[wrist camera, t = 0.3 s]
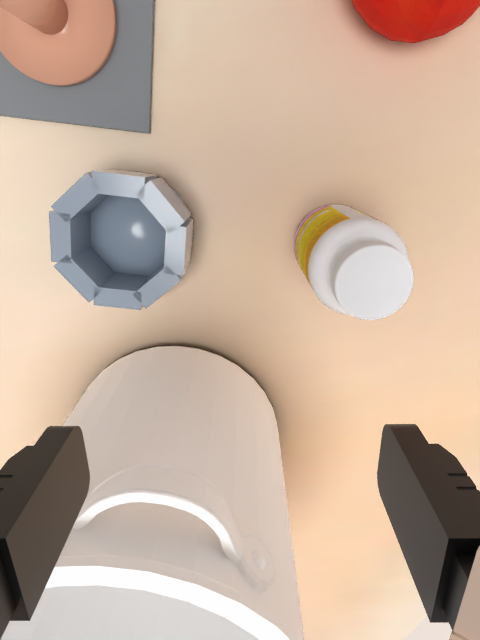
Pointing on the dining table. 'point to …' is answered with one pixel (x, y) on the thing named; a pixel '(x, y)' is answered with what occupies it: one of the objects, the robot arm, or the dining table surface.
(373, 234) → the supplement bottle
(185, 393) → the bucket
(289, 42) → the dining table surface
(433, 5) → the tomato
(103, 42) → the lid
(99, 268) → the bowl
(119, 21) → the mat
